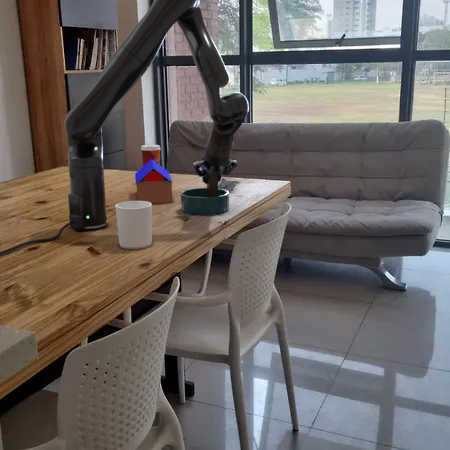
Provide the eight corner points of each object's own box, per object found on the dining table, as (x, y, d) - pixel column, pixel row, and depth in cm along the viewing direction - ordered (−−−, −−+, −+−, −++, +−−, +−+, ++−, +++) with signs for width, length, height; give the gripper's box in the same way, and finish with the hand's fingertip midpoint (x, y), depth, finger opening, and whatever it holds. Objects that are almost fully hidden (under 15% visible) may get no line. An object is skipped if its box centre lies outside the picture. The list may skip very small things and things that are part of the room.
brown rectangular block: (218, 198, 184) (217, 169, 182) (208, 199, 183) (208, 170, 181) (216, 196, 187) (215, 168, 185) (206, 197, 186) (206, 168, 184)
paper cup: (160, 183, 227) (159, 146, 224) (140, 183, 227) (139, 147, 224) (163, 179, 235) (161, 144, 231) (143, 179, 235) (142, 144, 231)
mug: (156, 248, 146) (154, 207, 143) (120, 251, 144) (117, 210, 141) (149, 236, 156) (147, 198, 154) (114, 239, 154) (112, 200, 151)
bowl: (201, 218, 174) (201, 200, 173) (171, 209, 185) (171, 192, 184) (238, 210, 184) (238, 192, 182) (208, 202, 194) (208, 186, 193)
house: (136, 204, 193) (134, 168, 190) (136, 191, 212) (134, 159, 209) (173, 202, 195) (172, 167, 192) (169, 190, 214) (168, 158, 211)
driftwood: (233, 193, 208) (233, 187, 208) (214, 192, 209) (214, 186, 209) (239, 182, 228) (239, 177, 228) (221, 182, 229) (221, 177, 228)
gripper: (240, 136, 175) (230, 170, 189) (193, 137, 171) (187, 172, 186) (245, 156, 171) (234, 189, 186) (197, 158, 168) (190, 192, 182)
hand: (210, 181), depth 186 cm, fingers closed on brown rectangular block, 3 cm apart
